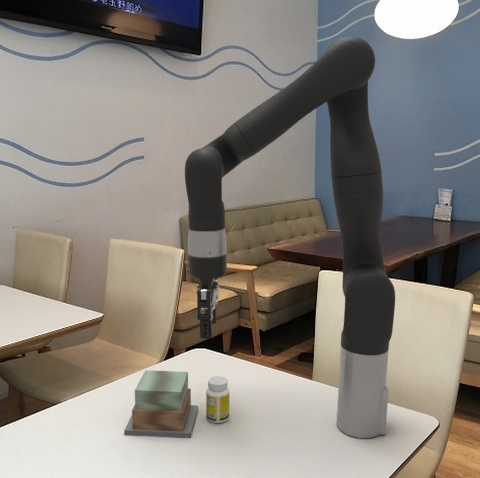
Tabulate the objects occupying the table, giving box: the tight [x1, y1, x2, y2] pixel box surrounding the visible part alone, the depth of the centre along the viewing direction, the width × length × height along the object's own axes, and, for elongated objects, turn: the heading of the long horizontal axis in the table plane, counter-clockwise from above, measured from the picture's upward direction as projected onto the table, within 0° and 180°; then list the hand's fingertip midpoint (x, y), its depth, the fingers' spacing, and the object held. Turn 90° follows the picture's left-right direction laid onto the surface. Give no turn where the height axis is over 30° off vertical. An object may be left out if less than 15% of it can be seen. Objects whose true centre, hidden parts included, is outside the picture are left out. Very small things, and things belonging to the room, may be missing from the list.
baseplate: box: [123, 404, 199, 439], centre depth 111 cm, size 13×11×1 cm
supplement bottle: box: [205, 375, 230, 424], centre depth 112 cm, size 5×5×8 cm
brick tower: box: [131, 369, 192, 431], centre depth 110 cm, size 10×10×8 cm
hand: (208, 330), depth 109 cm, fingers open, 8 cm apart
